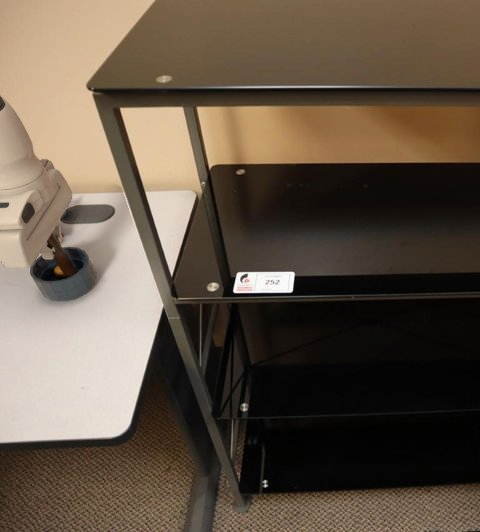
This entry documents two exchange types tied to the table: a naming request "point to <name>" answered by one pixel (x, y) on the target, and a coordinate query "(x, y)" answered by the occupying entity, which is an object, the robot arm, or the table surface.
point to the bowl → (64, 286)
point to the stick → (61, 257)
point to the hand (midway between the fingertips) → (54, 250)
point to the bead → (58, 272)
